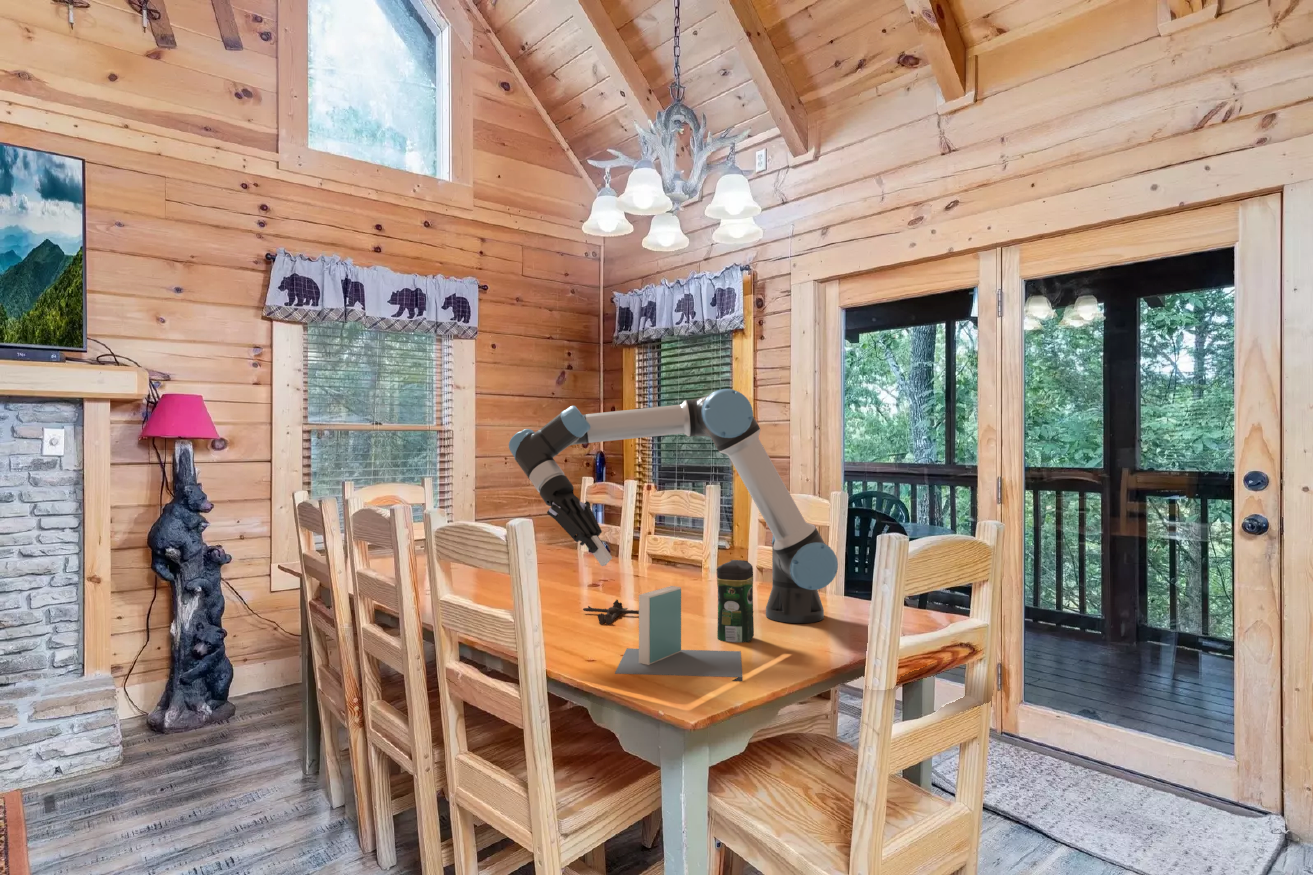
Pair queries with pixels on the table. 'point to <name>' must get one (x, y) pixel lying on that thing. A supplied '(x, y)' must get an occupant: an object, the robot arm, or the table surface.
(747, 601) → the coffee jar
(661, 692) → the table surface
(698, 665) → the mat
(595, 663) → the table surface
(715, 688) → the table surface
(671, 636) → the tile
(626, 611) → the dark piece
